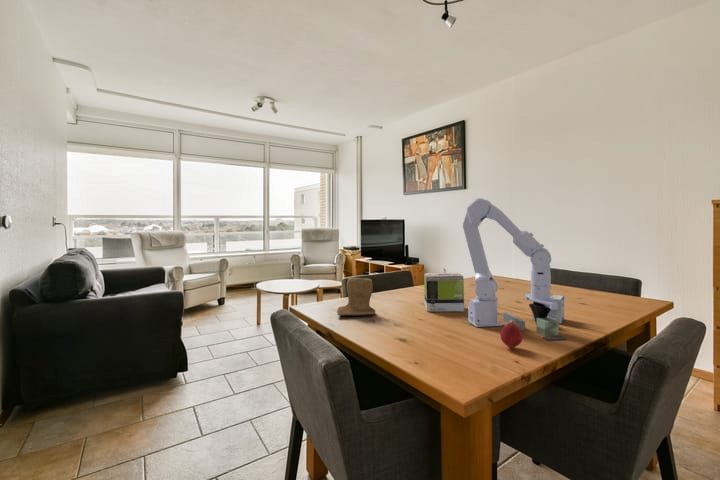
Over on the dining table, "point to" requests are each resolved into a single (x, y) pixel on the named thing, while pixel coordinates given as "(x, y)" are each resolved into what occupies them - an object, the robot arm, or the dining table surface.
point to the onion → (511, 335)
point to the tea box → (444, 291)
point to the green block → (547, 327)
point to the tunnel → (517, 320)
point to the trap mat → (554, 338)
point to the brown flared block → (357, 298)
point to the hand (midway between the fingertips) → (540, 325)
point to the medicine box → (559, 312)
